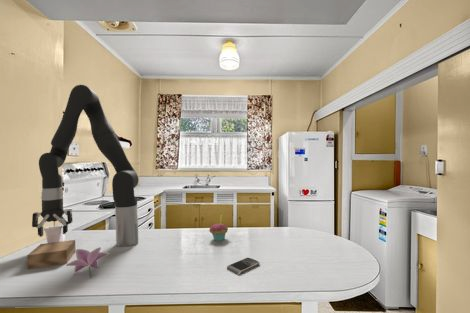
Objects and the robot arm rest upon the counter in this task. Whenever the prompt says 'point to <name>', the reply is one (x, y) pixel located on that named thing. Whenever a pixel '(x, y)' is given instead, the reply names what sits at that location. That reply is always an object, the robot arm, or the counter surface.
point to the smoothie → (53, 233)
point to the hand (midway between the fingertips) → (53, 234)
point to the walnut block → (51, 254)
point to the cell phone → (242, 265)
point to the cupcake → (218, 230)
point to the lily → (87, 259)
